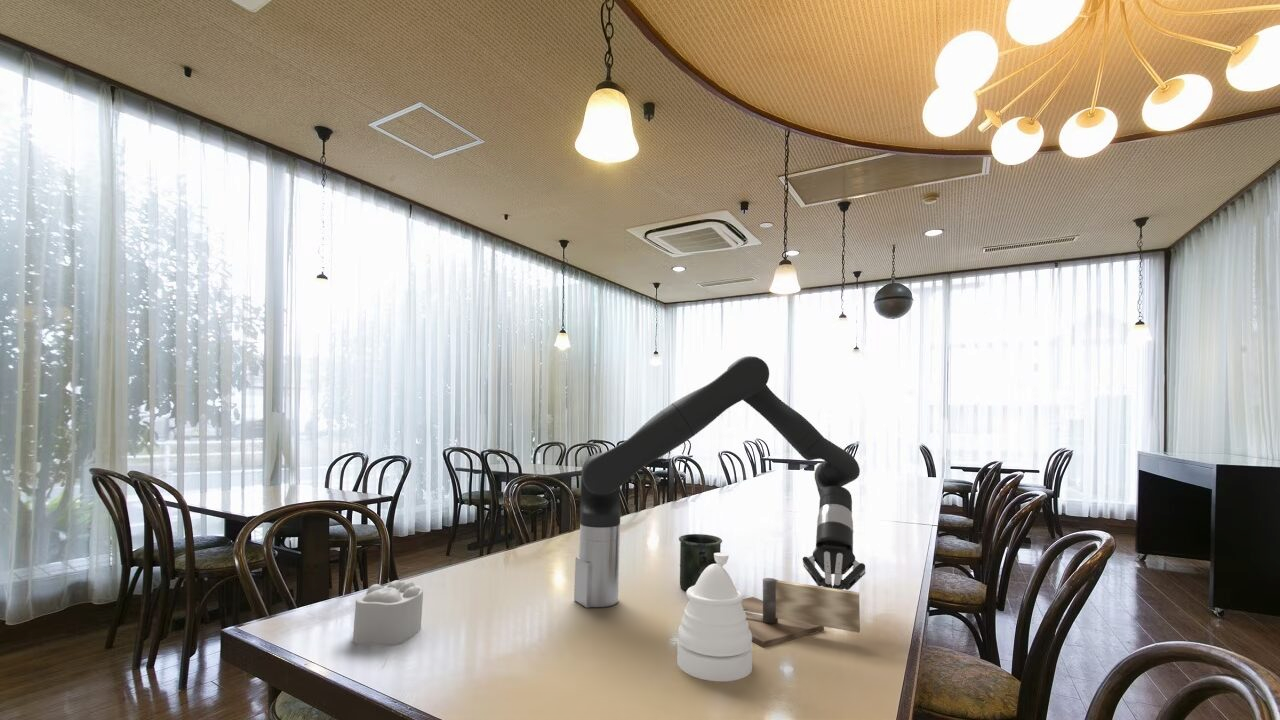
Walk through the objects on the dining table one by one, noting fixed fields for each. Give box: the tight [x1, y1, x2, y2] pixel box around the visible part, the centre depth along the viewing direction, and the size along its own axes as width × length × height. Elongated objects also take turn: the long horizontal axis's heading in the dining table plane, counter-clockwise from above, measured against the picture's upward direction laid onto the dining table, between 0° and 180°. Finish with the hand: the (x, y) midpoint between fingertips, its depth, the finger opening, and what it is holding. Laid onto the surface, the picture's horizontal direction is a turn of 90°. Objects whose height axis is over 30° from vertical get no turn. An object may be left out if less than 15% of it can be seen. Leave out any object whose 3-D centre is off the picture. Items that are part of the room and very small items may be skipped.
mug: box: [678, 533, 723, 592], centre depth 137 cm, size 11×15×12 cm
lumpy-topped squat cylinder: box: [352, 579, 424, 647], centre depth 107 cm, size 10×13×9 cm
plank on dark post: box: [744, 577, 861, 634], centre depth 112 cm, size 28×3×8 cm, turn 64°
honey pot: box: [676, 552, 753, 682], centre depth 96 cm, size 13×13×18 cm
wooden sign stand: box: [741, 596, 825, 648], centre depth 116 cm, size 17×20×1 cm
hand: (832, 605), depth 109 cm, fingers closed
